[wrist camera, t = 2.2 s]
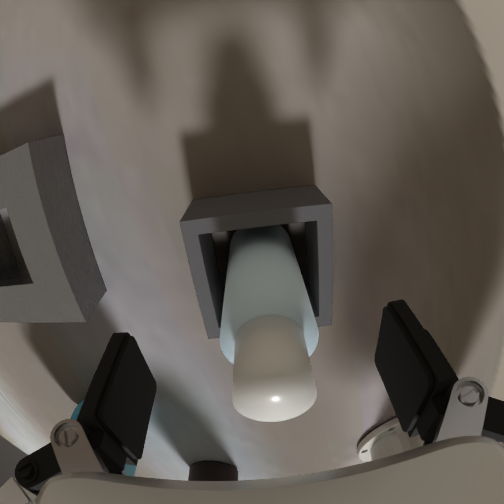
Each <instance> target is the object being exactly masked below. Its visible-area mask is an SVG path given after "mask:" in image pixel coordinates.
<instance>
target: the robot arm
mask: <svg viewBox="0 0 504 504" xmlns="http://www.w3.org/2000/svg"><path fill="white" fill-rule="evenodd" d="M375 364H376V367H377V369H378V371H379V374H380V376H381V378H382V381H383V383H384V386H385V388H386V390H387V393H388V395H389V398H390V400H391V403H392V405H393V408H394V410H395V413H396V415H397V417H396V418H394V419H392V420H390V421H388V422H386V423H384V424H383V425H381V426H379V427H378V428H376V429H375V430H373V431H372V432H370V433H369V434H368V435H367V436H366V437H365V438H364V439H363V440H362V441H361V442H360V443H359V445H358V447H357V453H358V456H359V458H360V459H361V460H363V461H365V462H366V463H362V464H357V465H353V466H349V467H344V468H339V469H334V470H329V471H324V472H318V473H312V474H305V475H298V476H290V477H282V478H272V479H260V480H244V481H182V480H167V479H155V478H144V477H135V476H127V475H126V473H125V471H124V468H125V464H126V465H134V466H137V461H138V459H141V457H142V454H143V449H144V444H145V439H146V434H147V429H148V424H149V420H150V415H151V411H152V406H153V402H154V397H155V393H156V381H155V379H154V377H153V375H152V373H151V371H150V369H149V367H148V365H147V363H146V361H145V359H144V357H143V355H142V353H141V351H140V349H139V347H138V344H137V342H136V340H135V338H134V337H133V336H130V334H129V333H127V332H125V333H114V334H113V335H112V337H111V339H110V341H109V343H108V345H107V348H106V350H105V352H104V354H103V357H102V359H101V361H100V363H99V366H98V368H97V370H96V372H95V375H94V377H93V380H92V382H91V384H90V387H89V389H88V392H87V394H86V397H85V399H84V402H83V404H82V407H81V409H80V412H79V415H78V417H77V420H73V419H65V420H62V421H60V422H59V423H57V424H56V425H55V427H54V428H53V430H52V432H51V436H50V439H51V443H49V444H47V445H46V446H44V447H42V448H40V449H39V450H37V451H35V452H33V453H32V454H30V455H28V456H26V457H25V458H23V459H22V460H20V461H19V463H18V464H17V466H16V468H15V478H12V477H11V478H10V479H9V480H8V481H7V482H6V483H5V484H4V485H3V486H2V487H1V488H0V504H504V401H501V400H498V399H495V398H492V397H489V396H488V390H487V387H486V386H485V385H484V383H483V382H481V381H480V380H479V379H476V378H473V377H465V378H462V379H460V380H459V379H458V377H457V376H456V374H455V372H454V371H453V369H452V367H451V366H450V364H449V363H448V361H447V359H446V358H445V356H444V355H443V353H442V352H441V350H440V348H439V347H438V345H437V344H436V342H435V341H434V339H433V338H432V336H431V335H430V333H429V332H428V331H427V330H425V329H424V328H423V327H422V325H421V324H420V322H419V321H418V319H417V318H416V317H415V315H414V314H413V312H412V311H411V309H410V308H409V306H408V305H407V304H406V302H405V301H404V300H397V301H392V302H389V303H388V304H387V306H386V307H384V309H383V314H382V320H381V326H380V332H379V337H378V343H377V348H376V353H375Z"/></svg>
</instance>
